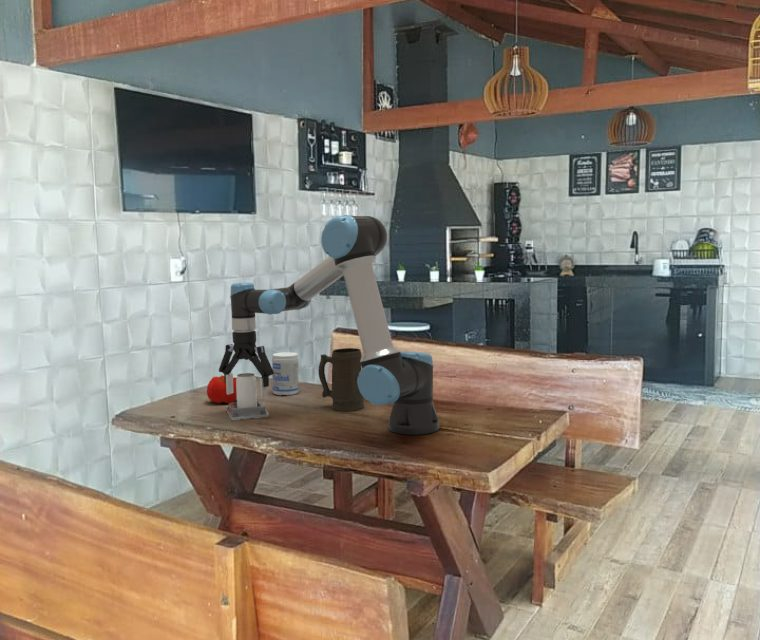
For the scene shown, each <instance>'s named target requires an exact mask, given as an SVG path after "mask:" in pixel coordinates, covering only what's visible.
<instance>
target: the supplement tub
mask: <svg viewBox="0 0 760 640" xmlns="http://www.w3.org/2000/svg"><path fill="white" fill-rule="evenodd" d="M271 359H272V360H271V364H272V365H271V367H272V369H273V372H274V374H273V375H271V377H272V385H271V386H272V394H274V395H276V396H281V395H286V396H293V395H296V394H298V393H299V390H300V389H299V385H300V383H299V355H298V352H292V351H291V352H290V351H289V352H288V351H285V352H284V351H282V352H276V353H273V354H272V358H271Z"/></svg>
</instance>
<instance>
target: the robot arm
mask: <svg viewBox="0 0 760 640" xmlns="http://www.w3.org/2000/svg"><path fill="white" fill-rule="evenodd" d="M320 238H321V241H320V242H321V243H320V244H321V248H322V250H323V252H324V253H325V254H326V255H328V256H327V257H325V259H323V260H322V261H321V262H319V263H318V264H316V265H315V266H314V267H312V268H311V269H310V270H309V271H308V272H306V273H305V274H304V275H302V276H301V277H299V278H298V279H297V280H296V281H295V282H293V283H292V284H291V285H289V286H287V287H281V288H279V287H278V288H270V289H256V288H255V284H254V283H253V282H234V283H232V284H231V286H230V295H229V296H230V297H229V298H230V309H231V312H230V313H231V330H233V331H232V333H231V334H232V343H233V344H232V343H230V344H225V349H224V350H225V352H224V354H223V356H222V360H221V362H220V365H219V368H218V372H219V373H222V374H223V376H224V382H225V384H226V391H227V394H228V395H229V394H232V393H234V391H233V378H234V374H233V373H232V372H233V370H234V368H235V367H236V365H237V364H238V362H239V361H240V360H246V361H247V360H249V362H251V363H252V364H253V366H254V368H255V369H256V370H257V371H258V373H259V374H260V377H259V389H260V390H259V391H260V398H266V397H268V388H269V386H270V383H269V382H270V380H269V379H270V378H269V377H270V376H272V375H273V374H274V372H273V369H272V365H271V363H270V360H269V358H268V356H267V354H266V350H265V346H264V345H260V346H257V345H256V342H257V331H256V328H257V325H256V324H257V323H256V314H267V315H278V314H279V315H280V314H281V312H287V311H297V310H298V311H299V310H302V309H306V308H307V307H308V306H309V305H310V303H311V302H312V299H313V298H315V297H317V295H319V294H320V293H322V292H323V291H324V290H325V289H327V288H328V287H330V286H331V285H332V284H334V283H335V282H336V281H338V280H339V279H341V278H342V277H343V280H344V282H345V286H346V290H347V294H348V299H349V302H350V306H351V309H352V313H353V317H354V321H355V325H356V329H357V332H358V336H359V340H360V344H361V348H362V352H363V354H362V356H361V360H360V363H361V371H360V373H359V376H358V379H357V383H358V388H359V391H360V393H361V394H362V396H363V397H364V398H363V399H364V400H365V401H367V402H369V403H370V404H372V405H374V406H385V405H390V404H392V405H393V406H392V408H391V411H390V415H389V416H388V417H389V418H388V420H387V421H388V422H387V423H388V424H387V425H388V428H387V429H388V430H389V431H390V432H392V433H396V434H400V435H412V436H414V435H415V436H417V435H427V434H432V433H435V432H437V431H438V430H439V429H440V420H439V417H438V414H437V411H436V407H435V405H434V361H433V356H432V354H430V353H427V352H422V351H421V352H419V351H405V350H403V351H400V349H398V348H396V347H395V346H394V343H393V340H392V336H391V332H390V329H389V324H388V321H387V317H386V314H385V310H384V306H383V301H382V296H381V295H380V290H379V285H378V283H377V278H376V275H375V271H374V267H373V263H374V261H375V259H376V256H378V255H379V254H380V253H381V252H382V251H383V250H384V249H385V247H386V245H387V242H388V232H387V229H386V226H385V224H383V223H382V221H381V220H379V219H378V218H377V217H374V216H372V215H371V216H369V215H349V214H344V215H339V216H335V217H332V218H331V219H329V220H328V221H327V222H326V223H325V225H324V227H323V229H322V232H321V237H320ZM233 353H234V354H233Z"/></svg>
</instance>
